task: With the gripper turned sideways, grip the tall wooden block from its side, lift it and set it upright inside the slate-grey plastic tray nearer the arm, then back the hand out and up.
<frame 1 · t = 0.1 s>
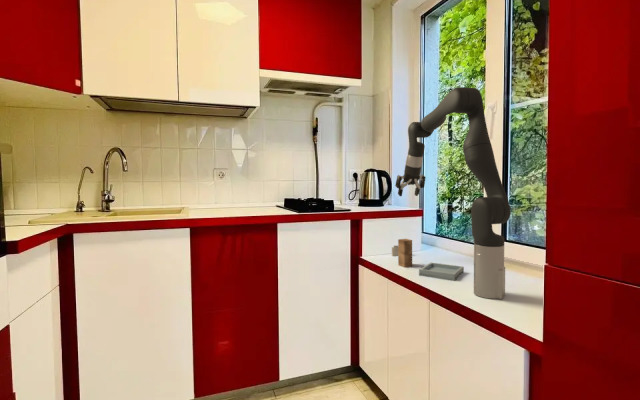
hand: (408, 195, 171), 31 cm above the worktop, tool tilted 20°, fingers open, 8 cm apart
tray: (441, 273, 144), on the worktop
lighter: (398, 255, 180), on the worktop
tall wooden block: (405, 265, 159), on the worktop
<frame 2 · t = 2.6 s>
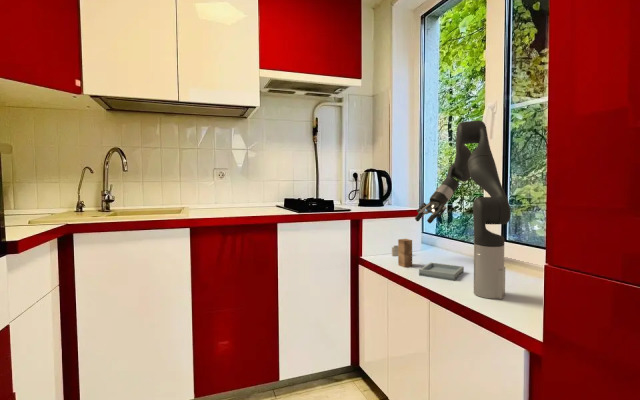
hand: (422, 221, 163), 20 cm above the worktop, tool tilted 45°, fingers open, 8 cm apart
nothing on the worktop moved.
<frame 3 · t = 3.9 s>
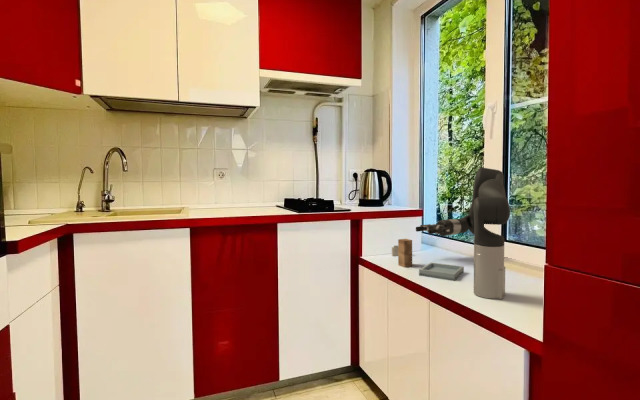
hand: (422, 230, 162), 15 cm above the worktop, tool horizontal, fingers open, 8 cm apart
nothing on the worktop moved.
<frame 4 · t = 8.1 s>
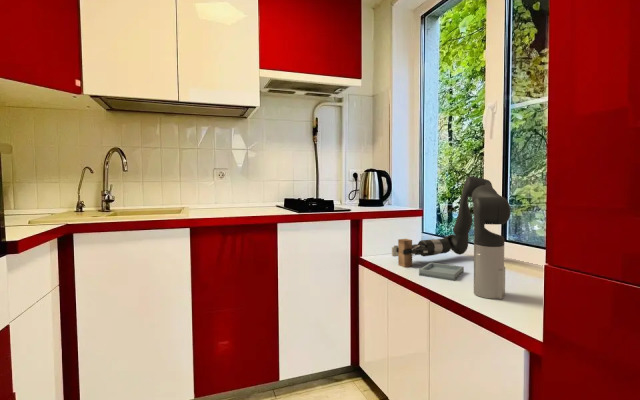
hand: (400, 251, 157), 7 cm above the worktop, tool horizontal, fingers closed on tall wooden block, 4 cm apart
tall wooden block: (405, 265, 159), on the worktop, touching gripper
everything else where it was.
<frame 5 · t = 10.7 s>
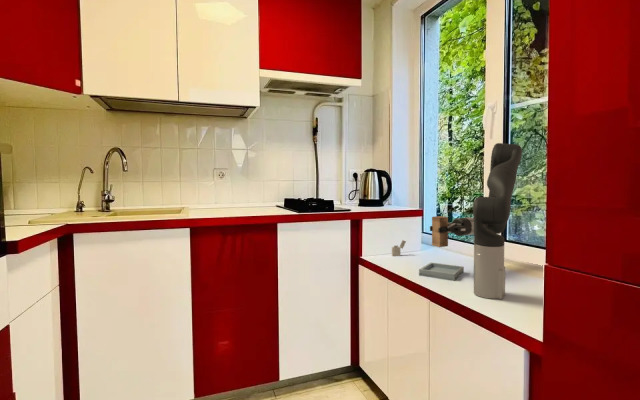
hand: (434, 229, 142), 19 cm above the worktop, tool horizontal, fingers closed on tall wooden block, 4 cm apart
tall wooden block: (440, 245, 144), point 12 cm above the worktop, touching gripper
everything else where it was.
when the fingers open (9 cm above the worktop, at t = 13.5 s): tall wooden block drops 1 cm, resting on tray.
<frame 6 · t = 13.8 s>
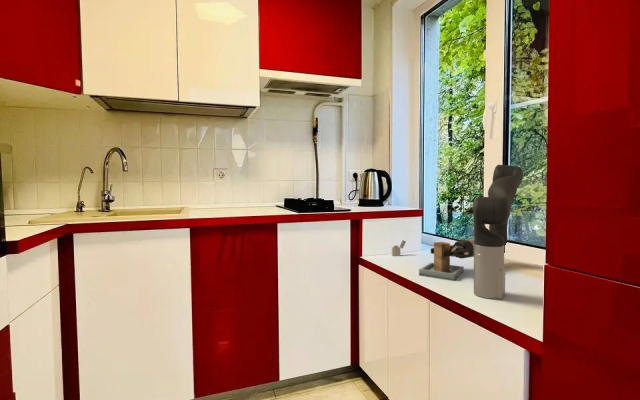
hand: (437, 252, 143), 9 cm above the worktop, tool horizontal, fingers open, 6 cm apart
tall wooden block: (441, 271, 144), point 1 cm above the worktop, touching tray
everything else where it was.
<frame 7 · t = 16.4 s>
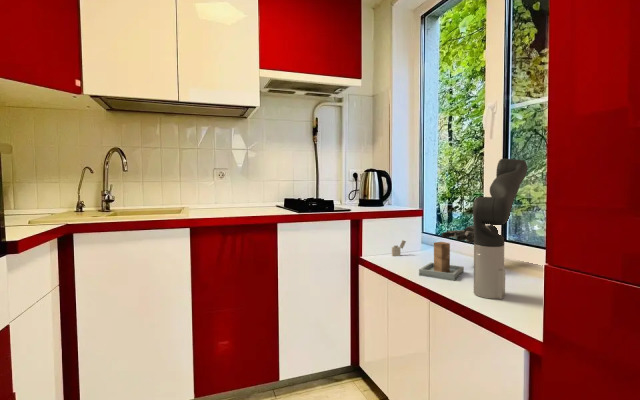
hand: (449, 236, 148), 15 cm above the worktop, tool horizontal, fingers open, 8 cm apart
nothing on the worktop moved.
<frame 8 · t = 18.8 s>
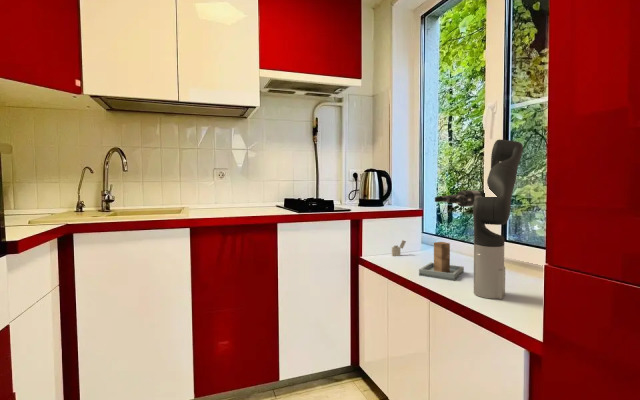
hand: (442, 199, 155), 30 cm above the worktop, tool horizontal, fingers open, 8 cm apart
nothing on the worktop moved.
at the end: tall wooden block inside the target area on the tray (0.1 cm from its centre), point 1.0 cm above the tray's base; tall wooden block tilted 0°; the gripper is holding nothing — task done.
